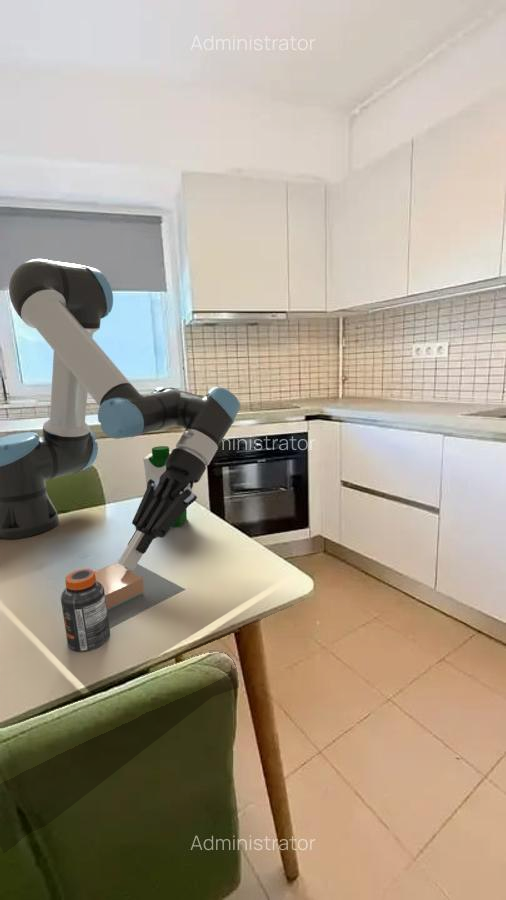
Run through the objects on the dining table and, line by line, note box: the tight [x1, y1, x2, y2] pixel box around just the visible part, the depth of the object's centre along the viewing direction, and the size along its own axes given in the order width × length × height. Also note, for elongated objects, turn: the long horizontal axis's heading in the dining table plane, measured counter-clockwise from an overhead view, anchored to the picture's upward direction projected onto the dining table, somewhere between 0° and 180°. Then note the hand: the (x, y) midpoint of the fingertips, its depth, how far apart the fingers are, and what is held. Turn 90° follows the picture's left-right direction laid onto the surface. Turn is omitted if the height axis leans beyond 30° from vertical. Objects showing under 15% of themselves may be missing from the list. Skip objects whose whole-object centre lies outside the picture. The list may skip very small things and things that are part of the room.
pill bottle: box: [60, 568, 111, 653], centre depth 65 cm, size 6×6×11 cm
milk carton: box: [142, 445, 188, 529], centre depth 109 cm, size 9×9×20 cm
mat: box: [107, 563, 186, 630], centre depth 79 cm, size 16×15×1 cm
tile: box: [94, 562, 144, 611], centre depth 77 cm, size 9×3×9 cm
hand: (125, 566), depth 79 cm, fingers closed
